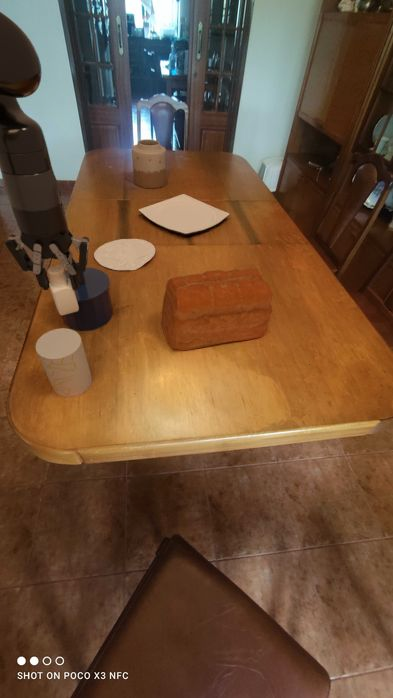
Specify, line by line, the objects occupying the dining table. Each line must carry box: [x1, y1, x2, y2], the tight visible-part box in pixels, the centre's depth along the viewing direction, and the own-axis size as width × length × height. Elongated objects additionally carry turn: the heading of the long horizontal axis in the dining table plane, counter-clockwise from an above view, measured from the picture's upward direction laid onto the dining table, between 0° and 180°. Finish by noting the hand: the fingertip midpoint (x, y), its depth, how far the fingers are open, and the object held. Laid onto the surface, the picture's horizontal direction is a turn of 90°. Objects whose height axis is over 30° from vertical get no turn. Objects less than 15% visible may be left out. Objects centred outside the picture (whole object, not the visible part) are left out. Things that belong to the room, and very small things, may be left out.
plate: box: [138, 193, 230, 236], centre depth 126 cm, size 29×29×3 cm
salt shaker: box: [46, 264, 79, 316], centre depth 63 cm, size 4×4×10 cm
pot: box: [60, 287, 114, 332], centre depth 81 cm, size 13×13×10 cm
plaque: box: [93, 238, 156, 271], centre depth 105 cm, size 20×20×2 cm
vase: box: [131, 138, 167, 190], centre depth 145 cm, size 15×15×17 cm
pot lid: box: [66, 266, 111, 302], centre depth 76 cm, size 14×14×6 cm
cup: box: [35, 327, 93, 398], centre depth 64 cm, size 8×8×12 cm
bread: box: [160, 268, 274, 351], centre depth 78 cm, size 14×27×15 cm, turn 106°
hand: (61, 287), depth 62 cm, fingers closed on salt shaker, 5 cm apart
